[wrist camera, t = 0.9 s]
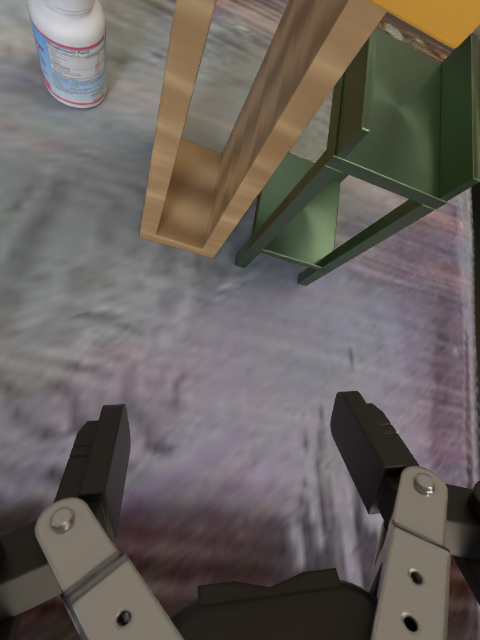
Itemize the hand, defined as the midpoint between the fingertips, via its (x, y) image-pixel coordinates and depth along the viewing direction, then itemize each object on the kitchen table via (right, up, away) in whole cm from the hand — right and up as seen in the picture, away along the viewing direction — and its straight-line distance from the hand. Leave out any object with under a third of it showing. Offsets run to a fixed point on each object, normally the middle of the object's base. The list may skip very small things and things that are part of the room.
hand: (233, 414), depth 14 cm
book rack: (+5, +14, +29) cm, 33 cm away
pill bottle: (-17, +28, +25) cm, 41 cm away
